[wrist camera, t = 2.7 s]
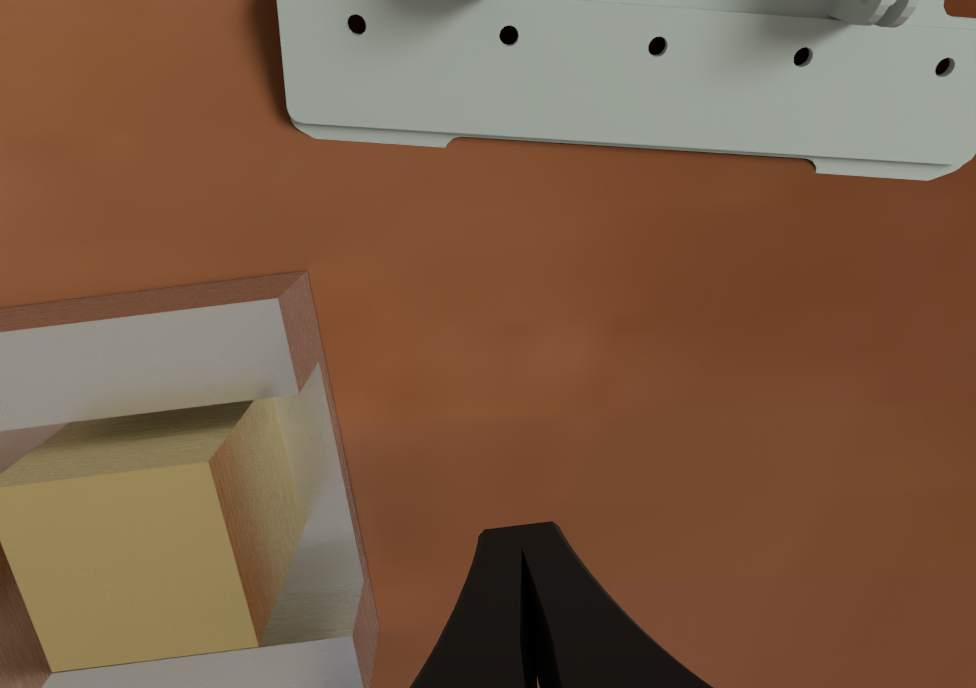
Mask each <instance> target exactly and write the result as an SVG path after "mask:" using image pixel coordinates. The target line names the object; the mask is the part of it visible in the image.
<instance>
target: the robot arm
mask: <svg viewBox="0 0 976 688" xmlns="http://www.w3.org/2000/svg"><path fill="white" fill-rule="evenodd" d="M537 678H538V682H539V686H540V688H713V687H711V686H710V685H709V684H707V683H706V682H704V681H703V680H701V679H700V678H699V677H697V676H696V675H695V674H694V673H692V672H691V671H690V670H689V669H687V668H686V667H685V666H684V665H682V664H681V663H680V662H678V661H677V660H676V659H675V658H674V657H672V656H671V655H670V654H669V653H668V652H667V651H665V650H664V649H663V648H662V647H661V646H660V645H659V644H657V643H656V642H655V641H654V640H653V639H652V638H651V637H650V636H649V635H648V634H646V633H645V632H644V631H643V630H642V629H641V628H640V627H639V626H638V625H637V624H636V623H635V622H634V621H633V620H632V619H631V618H630V617H629V616H628V615H627V614H626V613H625V612H624V611H623V610H622V609H621V608H620V606H619V605H618V604H617V603H616V602H615V601H614V600H613V599H612V598H611V597H610V595H609V594H608V593H607V592H606V591H605V590H604V588H603V587H602V586H601V585H600V584H599V583H598V581H597V580H596V579H595V578H594V577H593V575H592V574H591V573H590V572H589V570H588V569H587V568H586V567H585V565H584V564H583V563H582V561H581V560H580V559H579V557H578V556H577V555H576V553H575V552H574V550H573V549H572V547H571V546H570V544H569V543H568V541H567V540H566V538H565V537H564V535H563V533H562V531H561V530H560V527H559V526H558V525H557V524H555V523H554V522H553V521H551V522H543V523H534V524H526V525H518V526H510V527H502V528H494V529H486V530H484V531H483V532H482V533H481V534H480V535H479V538H478V544H477V548H476V552H475V556H474V559H473V562H472V565H471V568H470V571H469V574H468V576H467V579H466V582H465V584H464V586H463V589H462V591H461V594H460V596H459V598H458V601H457V603H456V605H455V608H454V610H453V612H452V614H451V616H450V618H449V620H448V622H447V624H446V626H445V628H444V630H443V632H442V634H441V636H440V638H439V640H438V642H437V644H436V645H435V647H434V649H433V651H432V652H431V654H430V656H429V658H428V659H427V661H426V663H425V664H424V666H423V668H422V669H421V671H420V672H419V674H418V676H417V677H416V679H415V680H414V682H413V683H412V685H411V686H410V688H537Z"/></svg>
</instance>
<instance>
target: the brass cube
mask: <svg viewBox="0 0 976 688" xmlns="http://www.w3.org/2000/svg"><path fill="white" fill-rule="evenodd" d="M303 531H304V526H303V522H302V518H301V513H300V509H299V505H298V500H297V496H296V492H295V487H294V483H293V479H292V475H291V470H290V466H289V462H288V457H287V453H286V449H285V444H284V440H283V436H282V431H281V427H280V423H279V419H278V414H277V410H276V406H275V401H274V397H272V398H264V399H256V400H247V401H239V402H231V403H223V404H215V405H207V406H199V407H191V408H183V409H175V410H166V411H158V412H150V413H142V414H134V415H126V416H118V417H110V418H102V419H94V420H85V421H77V422H69V423H67V424H66V425H65V426H64V427H62V428H61V429H60V430H58V431H57V432H56V433H54V434H53V435H52V436H50V437H49V438H48V439H46V440H45V441H44V442H42V443H41V444H40V445H38V446H37V447H36V448H35V449H33V450H32V451H31V452H29V453H28V454H27V455H25V456H24V457H23V458H21V459H20V460H19V461H17V462H16V463H15V464H13V465H12V466H11V467H9V468H8V469H7V470H5V471H4V472H3V473H2V474H0V542H1V544H2V547H3V550H4V552H5V555H6V557H7V560H8V562H9V565H10V567H11V570H12V572H13V575H14V577H15V580H16V582H17V585H18V587H19V590H20V592H21V595H22V597H23V600H24V603H25V605H26V608H27V610H28V613H29V615H30V618H31V620H32V623H33V625H34V628H35V630H36V633H37V635H38V638H39V640H40V643H41V645H42V648H43V650H44V653H45V656H46V658H47V661H48V663H49V666H50V668H51V671H52V672H59V671H67V670H75V669H83V668H91V667H100V666H108V665H116V664H124V663H132V662H140V661H148V660H156V659H164V658H172V657H180V656H188V655H196V654H204V653H212V652H220V651H228V650H236V649H244V648H252V647H259V645H260V642H261V640H262V637H263V634H264V632H265V629H266V627H267V624H268V621H269V619H270V616H271V614H272V611H273V608H274V606H275V603H276V601H277V598H278V596H279V593H280V590H281V588H282V585H283V583H284V580H285V577H286V575H287V572H288V570H289V567H290V564H291V562H292V559H293V557H294V554H295V551H296V549H297V546H298V544H299V541H300V538H301V536H302V533H303Z"/></svg>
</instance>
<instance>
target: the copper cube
mask: <svg viewBox="0 0 976 688" xmlns="http://www.w3.org/2000/svg"><path fill="white" fill-rule="evenodd" d="M5 470H7V469H0V474H2V473H3V472H4V471H5ZM51 674H52V671H51V668H50V666H49V663H48V661H47V658H46V656H45V653H44V650H43V648H42V645H41V643H40V640H39V638H38V635H37V633H36V630H35V628H34V625H33V623H32V620H31V618H30V615H29V613H28V610H27V608H26V605H25V603H24V600H23V597H22V595H21V592H20V590H19V587H18V585H17V582H16V580H15V577H14V575H13V572H12V570H11V567H10V565H9V562H8V560H7V557H6V555H5V552H4V550H3V547H2V544H1V542H0V688H41V687H42V686H43V684H44V683H45V682H46V680H47V679H48V678H49V676H50V675H51Z"/></svg>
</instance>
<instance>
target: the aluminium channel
mask: <svg viewBox="0 0 976 688" xmlns="http://www.w3.org/2000/svg"><path fill="white" fill-rule="evenodd" d="M272 397H274V401H275V406H276V410H277V414H278V419H279V423H280V427H281V431H282V436H283V440H284V444H285V449H286V453H287V457H288V462H289V466H290V470H291V475H292V479H293V483H294V487H295V492H296V496H297V500H298V505H299V509H300V513H301V518H302V522H303V526H304V531H303V533H302V536H301V538H300V541H299V544H298V546H297V549H296V551H295V554H294V557H293V559H292V562H291V564H290V567H289V570H288V572H287V575H286V577H285V580H284V583H283V585H282V588H281V590H280V593H279V596H278V598H277V601H276V603H275V606H274V608H273V611H272V614H271V616H270V619H269V621H268V624H267V627H266V629H265V632H264V634H263V637H262V640H261V642H260V645H259V647H252V648H244V649H236V650H228V651H220V652H212V653H204V654H196V655H188V656H180V657H172V658H164V659H156V660H148V661H140V662H132V663H124V664H116V665H108V666H100V667H91V668H83V669H75V670H67V671H59V672H52V674H51V675H50V676H49V678H48V679H47V680H46V682H45V683H44V684H43V686H42V687H41V688H370V682H371V676H372V670H373V664H374V657H375V651H376V645H377V639H378V632H379V623H378V618H377V613H376V608H375V603H374V598H373V594H372V589H371V584H370V579H369V574H368V569H367V564H366V559H365V554H364V549H363V544H362V539H361V534H360V529H359V524H358V520H357V515H356V510H355V505H354V500H353V495H352V490H351V485H350V480H349V475H348V470H347V465H346V460H345V455H344V451H343V446H342V441H341V436H340V431H339V426H338V421H337V416H336V411H335V406H334V401H333V396H332V391H331V386H330V381H329V377H328V372H327V367H326V362H325V357H324V352H323V347H322V342H321V337H320V332H319V327H318V322H317V317H316V312H315V308H314V303H313V298H312V293H311V288H310V283H309V278H308V273H307V271H300V272H292V273H284V274H276V275H268V276H259V277H251V278H243V279H235V280H227V281H219V282H211V283H202V284H194V285H186V286H178V287H170V288H162V289H154V290H146V291H137V292H129V293H121V294H113V295H105V296H97V297H89V298H80V299H72V300H64V301H56V302H48V303H40V304H32V305H24V306H15V307H7V308H0V469H8V468H9V467H11V466H12V465H13V464H15V463H16V462H17V461H19V460H20V459H21V458H23V457H24V456H25V455H27V454H28V453H29V452H31V451H32V450H33V449H35V448H36V447H37V446H38V445H40V444H41V443H42V442H44V441H45V440H46V439H48V438H49V437H50V436H52V435H53V434H54V433H56V432H57V431H58V430H60V429H61V428H62V427H64V426H65V425H66V424H67V423H69V422H77V421H85V420H94V419H102V418H110V417H118V416H126V415H134V414H142V413H150V412H158V411H166V410H175V409H183V408H191V407H199V406H207V405H215V404H223V403H231V402H239V401H247V400H256V399H264V398H272Z"/></svg>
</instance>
